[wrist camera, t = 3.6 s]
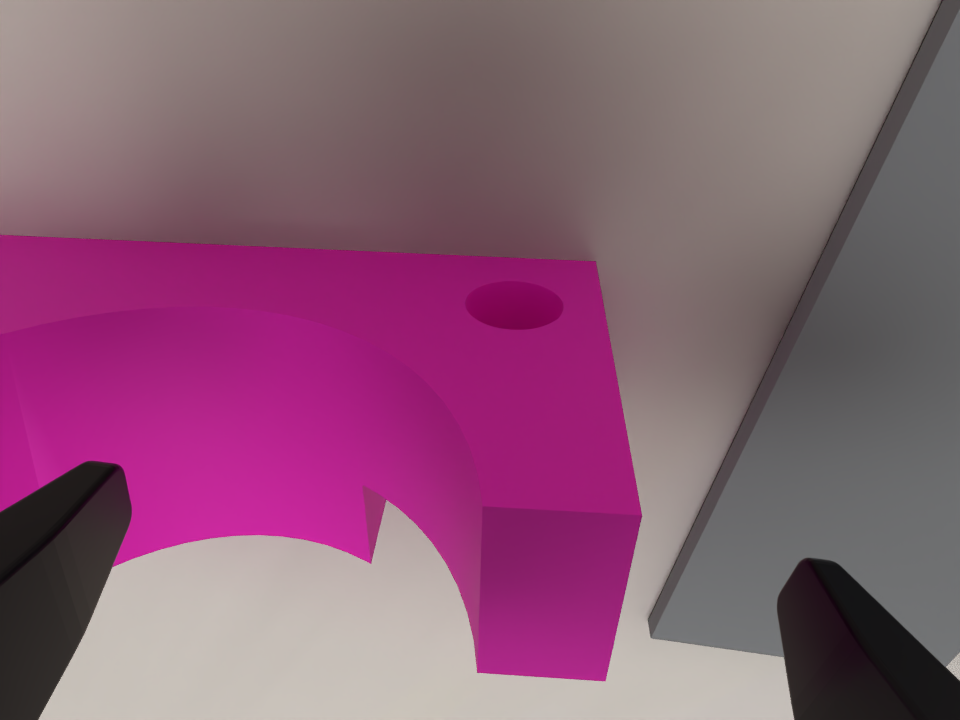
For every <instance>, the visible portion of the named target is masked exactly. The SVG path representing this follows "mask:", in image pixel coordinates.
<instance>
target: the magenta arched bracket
mask: <svg viewBox="0 0 960 720" xmlns="http://www.w3.org/2000/svg"><path fill="white" fill-rule="evenodd" d="M86 461H100V462H107V463H115V464H118V465H120V466H121V467H122V468H123V469H124V472H125V476H126V481H127V486H128V491H129V495H130V500H131V505H132V517H131V521H130V525H129V528H128V530H127V533H126V535H125V537H124V540H123V542H122V545H121V547H120V550H119V552H118V554H117V557H116V559H115V562H114V564H113V567H114V566H116V565H119V564H121V563H124V562H126V561H128V560H131V559H133V558H136V557H139V556H142V555H145V554H148V553H151V552H154V551H157V550H160V549H164V548H168V547H172V546H176V545H179V544H183V543H188V542H193V541H199V540H204V539H210V538H218V537H227V536H240V535H268V536H284V537H290V538H297V539H304V540H309V541H313V542H317V543H321V544H325V545H328V546H331V547H334V548H337V549H339V550H342V551H345V552H348V553H350V554H352V555H354V556H356V557H358V558H360V559H362V560H365V561H367V562H369V563H370V564H371V561H372V557H373V553H374V549H375V544H376V540H377V536H378V532H379V528H380V523H381V519H382V515H383V511H384V506H385V502H386V500H388V501H389V502H391V503H392V504H393V505H395V506H396V507H398V508H399V509H400V510H401V511H402V512H403V513H404V514H406V515H407V516H408V517H409V518H410V519H411V520H412V521H413V522H414V523H416V525H417V526H418V527H419V528H420V529H421V530H422V531H423V533H424V534H425V535H426V536H427V537H428V538H429V539H430V540H431V542H432V543H433V544H434V546H435V547H436V549H437V550H438V552H439V553H440V555H441V556H442V558H443V559H444V561H445V562H446V564H447V566H448V568H449V570H450V572H451V574H452V576H453V578H454V580H455V582H456V583H457V585H458V588H459V591H460V593H461V596H462V599H463V602H464V604H465V607H466V610H467V613H468V617H469V622H470V626H471V630H472V635H473V639H474V646H475V656H476V665H477V673H489V674H504V675H519V676H534V677H549V678H564V679H579V680H594V681H606V676H607V672H608V667H609V663H610V658H611V654H612V649H613V645H614V640H615V635H616V631H617V626H618V622H619V617H620V613H621V608H622V604H623V599H624V595H625V590H626V586H627V581H628V577H629V572H630V567H631V563H632V558H633V554H634V549H635V545H636V540H637V536H638V531H639V527H640V522H641V518H642V513H641V507H640V502H639V496H638V491H637V485H636V480H635V474H634V469H633V463H632V458H631V453H630V447H629V442H628V436H627V431H626V425H625V420H624V414H623V409H622V403H621V398H620V392H619V387H618V381H617V376H616V370H615V365H614V359H613V354H612V348H611V343H610V337H609V332H608V326H607V321H606V315H605V310H604V304H603V299H602V293H601V288H600V282H599V277H598V271H597V266H596V261H575V260H552V259H530V258H507V257H485V256H463V255H440V254H418V253H395V252H373V251H350V250H328V249H305V248H283V247H260V246H238V245H215V244H193V243H171V242H148V241H126V240H103V239H81V238H58V237H36V236H13V235H0V512H1V511H3V510H4V509H6V508H8V507H9V506H11V505H13V504H14V503H16V502H18V501H19V500H21V499H23V498H24V497H26V496H28V495H29V494H31V493H33V492H34V491H36V490H38V489H39V488H41V487H43V486H44V485H46V484H48V483H49V482H51V481H53V480H54V479H56V478H58V477H60V476H61V475H63V474H65V473H66V472H68V471H70V470H71V469H73V468H75V467H76V466H78V465H80V464H82V463H84V462H86Z"/></svg>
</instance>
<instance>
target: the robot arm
mask: <svg viewBox="0 0 960 720" xmlns="http://www.w3.org/2000/svg"><path fill="white" fill-rule="evenodd" d="M131 517H132V505H131V500H130V495H129V491H128V486H127V481H126V476H125V472H124V469H123V468H122V467H121V466H120V465H118V464H115V463H107V462H100V461H86V462H84V463H82V464H80V465H78V466H76V467H75V468H73V469H71V470H70V471H68V472H66V473H65V474H63V475H61V476H60V477H58V478H56V479H54V480H53V481H51V482H49V483H48V484H46V485H44V486H43V487H41V488H39V489H38V490H36V491H34V492H33V493H31V494H29V495H28V496H26V497H24V498H23V499H21V500H19V501H18V502H16V503H14V504H13V505H11V506H9V507H8V508H6V509H4V510H3V511H1V512H0V720H38V719H39V717H40V715H41V714H42V712H43V710H44V708H45V706H46V704H47V703H48V701H49V699H50V697H51V695H52V693H53V692H54V690H55V688H56V686H57V684H58V682H59V681H60V679H61V677H62V675H63V673H64V671H65V670H66V668H67V666H68V664H69V662H70V660H71V659H72V657H73V655H74V653H75V651H76V649H77V647H78V645H79V643H80V641H81V639H82V637H83V635H84V633H85V631H86V629H87V626H88V624H89V622H90V620H91V617H92V615H93V613H94V610H95V608H96V605H97V603H98V601H99V598H100V596H101V593H102V591H103V588H104V586H105V584H106V581H107V579H108V576H109V574H110V571H111V569H112V567H113V564H114V562H115V559H116V557H117V554H118V552H119V550H120V547H121V545H122V542H123V540H124V537H125V535H126V533H127V530H128V528H129V525H130V521H131ZM777 616H778V622H779V628H780V635H781V641H782V647H783V654H784V660H785V666H786V673H787V679H788V685H789V692H790V698H791V704H792V709H793V715H794V720H960V681H959V680H958V679H957V678H956V677H955V676H954V675H953V674H952V673H951V672H950V671H949V670H948V669H947V668H946V667H945V666H944V665H943V664H942V663H941V662H940V661H939V660H938V659H937V658H936V657H935V656H934V655H933V654H932V653H930V652H929V651H928V650H927V649H926V648H925V647H924V646H923V645H922V644H921V643H920V642H919V641H918V640H917V639H916V638H915V637H914V636H913V635H912V634H911V633H910V632H909V631H908V630H907V629H906V628H905V627H904V626H903V625H902V624H900V623H899V622H898V621H897V620H896V619H895V618H894V617H893V616H892V615H891V614H890V613H889V612H888V611H887V610H886V609H885V608H884V607H883V606H882V605H881V604H880V603H879V602H878V601H877V600H876V599H875V598H874V597H873V596H872V595H871V594H869V593H868V592H867V591H866V590H865V589H864V588H863V587H862V586H861V585H860V584H859V583H858V582H857V581H856V580H855V579H854V578H853V577H852V576H851V575H850V574H849V573H848V572H847V571H846V570H845V569H844V568H843V567H841V566H840V565H839V564H838V563H836V562H834V561H831V560H824V559H817V558H810V557H808V558H804V559H802V560H801V561H800V562H799V563H798V564H797V566H796V567H795V569H794V570H793V572H792V574H791V575H790V577H789V578H788V580H787V582H786V583H785V585H784V586H783V588H782V589H781V591H780V593H779V596H778V599H777Z"/></svg>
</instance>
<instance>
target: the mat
mask: <svg viewBox="0 0 960 720" xmlns="http://www.w3.org/2000/svg"><path fill="white" fill-rule="evenodd" d="M808 557H810V558H817V559H824V560H831V561H834V562H836V563H838V564H839V565H840V566H841V567H843V568H844V569H845V570H846V571H847V572H848V573H849V574H850V575H851V576H852V577H853V578H854V579H855V580H856V581H857V582H858V583H859V584H860V585H861V586H862V587H863V588H864V589H865V590H866V591H867V592H868V593H869V594H871V595H872V596H873V597H874V598H875V599H876V600H877V601H878V602H879V603H880V604H881V605H882V606H883V607H884V608H885V609H886V610H887V611H888V612H889V613H890V614H891V615H892V616H893V617H894V618H895V619H896V620H897V621H898V622H899V623H900V624H902V625H903V626H904V627H905V628H906V629H907V630H908V631H909V632H910V633H911V634H912V635H913V636H914V637H915V638H916V639H917V640H918V641H919V642H920V643H921V644H922V645H923V646H924V647H925V648H926V649H927V650H928V651H929V652H930V653H932V654H933V655H934V656H935V657H936V658H937V659H938V660H939V661H940V662H941V663H942V664H943V665H944V666H945V667H946V666H947V665H948V664H949V663H950V662H951V661H952V660H953V659H954V658H955V657H956V656H957V654H958V653H959V652H960V0H943V1H942V3H941V5H940V7H939V10H938V12H937V14H936V16H935V18H934V20H933V22H932V24H931V26H930V29H929V31H928V33H927V35H926V37H925V39H924V41H923V43H922V45H921V47H920V50H919V52H918V54H917V56H916V58H915V60H914V62H913V64H912V66H911V69H910V71H909V73H908V75H907V77H906V79H905V81H904V83H903V85H902V87H901V90H900V92H899V94H898V96H897V98H896V100H895V102H894V104H893V106H892V109H891V111H890V113H889V115H888V117H887V119H886V121H885V123H884V125H883V127H882V130H881V132H880V134H879V136H878V138H877V140H876V142H875V144H874V146H873V149H872V151H871V153H870V155H869V157H868V159H867V161H866V163H865V165H864V167H863V170H862V172H861V174H860V176H859V178H858V180H857V182H856V184H855V186H854V189H853V191H852V193H851V195H850V197H849V199H848V201H847V203H846V205H845V207H844V210H843V212H842V214H841V216H840V218H839V220H838V222H837V224H836V226H835V228H834V231H833V233H832V235H831V237H830V239H829V241H828V243H827V245H826V247H825V250H824V252H823V254H822V256H821V258H820V260H819V262H818V264H817V266H816V268H815V271H814V273H813V275H812V277H811V279H810V281H809V283H808V285H807V287H806V290H805V292H804V294H803V296H802V298H801V300H800V302H799V304H798V306H797V308H796V311H795V313H794V315H793V317H792V319H791V321H790V323H789V325H788V327H787V330H786V332H785V334H784V336H783V338H782V340H781V342H780V344H779V346H778V348H777V351H776V353H775V355H774V357H773V359H772V361H771V363H770V365H769V367H768V370H767V372H766V374H765V376H764V378H763V380H762V382H761V384H760V386H759V388H758V391H757V393H756V395H755V397H754V399H753V401H752V403H751V405H750V407H749V410H748V412H747V414H746V416H745V418H744V420H743V422H742V424H741V426H740V428H739V431H738V433H737V435H736V437H735V439H734V441H733V443H732V445H731V447H730V449H729V452H728V454H727V456H726V458H725V460H724V462H723V464H722V466H721V468H720V471H719V473H718V475H717V477H716V479H715V481H714V483H713V485H712V487H711V489H710V492H709V494H708V496H707V498H706V500H705V502H704V504H703V506H702V508H701V511H700V513H699V515H698V517H697V519H696V521H695V523H694V525H693V527H692V529H691V532H690V534H689V536H688V538H687V540H686V542H685V544H684V546H683V548H682V551H681V553H680V555H679V557H678V559H677V561H676V563H675V565H674V567H673V569H672V572H671V574H670V576H669V578H668V580H667V582H666V584H665V586H664V588H663V591H662V593H661V595H660V597H659V599H658V601H657V603H656V605H655V607H654V609H653V612H652V614H651V616H650V618H649V620H648V624H649V630H650V636H651V638H653V639H660V640H667V641H674V642H681V643H688V644H695V645H702V646H709V647H716V648H723V649H730V650H737V651H744V652H751V653H758V654H765V655H772V656H779V657H784V654H783V647H782V641H781V635H780V628H779V622H778V616H777V599H778V596H779V593H780V591H781V589H782V588H783V586H784V585H785V583H786V582H787V580H788V578H789V577H790V575H791V574H792V572H793V570H794V569H795V567H796V566H797V564H798V563H799V562H800V561H801V560H802V559H804V558H808Z"/></svg>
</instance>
